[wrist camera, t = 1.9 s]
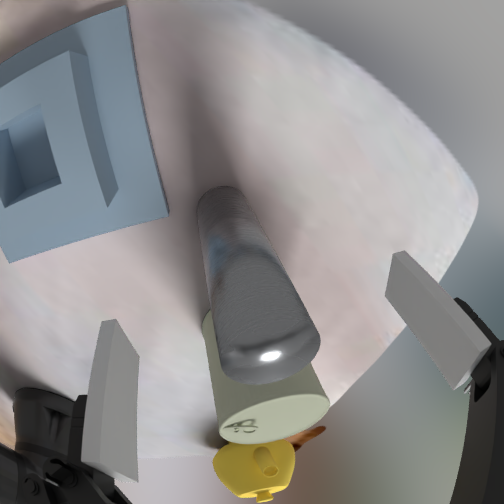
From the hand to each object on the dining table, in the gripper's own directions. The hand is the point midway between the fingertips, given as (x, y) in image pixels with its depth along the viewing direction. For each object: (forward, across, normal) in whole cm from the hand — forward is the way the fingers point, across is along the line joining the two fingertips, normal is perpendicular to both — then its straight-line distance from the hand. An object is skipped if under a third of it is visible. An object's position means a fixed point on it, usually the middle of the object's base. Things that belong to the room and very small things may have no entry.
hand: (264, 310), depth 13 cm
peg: (+12, 0, 0) cm, 12 cm away
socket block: (+11, -12, +9) cm, 19 cm away
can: (+12, 0, -13) cm, 18 cm away
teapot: (+12, -4, -45) cm, 47 cm away
